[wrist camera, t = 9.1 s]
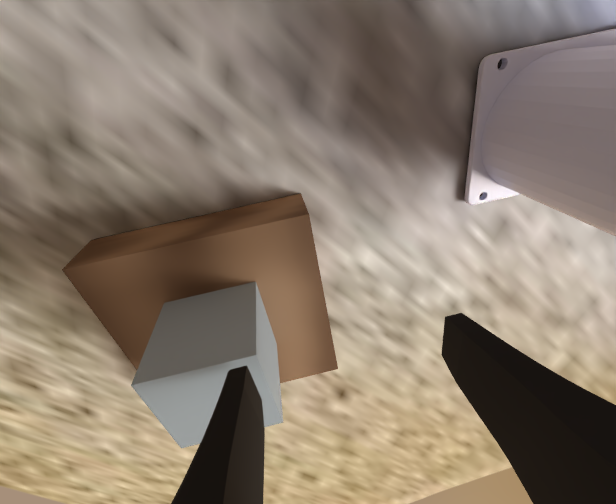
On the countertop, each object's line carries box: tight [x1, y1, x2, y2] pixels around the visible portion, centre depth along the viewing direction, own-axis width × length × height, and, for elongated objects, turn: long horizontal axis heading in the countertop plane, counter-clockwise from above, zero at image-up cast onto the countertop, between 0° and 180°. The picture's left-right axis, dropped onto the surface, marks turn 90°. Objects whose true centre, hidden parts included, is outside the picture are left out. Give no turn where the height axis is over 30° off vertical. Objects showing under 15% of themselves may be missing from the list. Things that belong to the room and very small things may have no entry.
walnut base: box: [62, 194, 338, 383], centre depth 19 cm, size 12×12×3 cm
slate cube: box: [131, 282, 283, 448], centre depth 15 cm, size 5×5×5 cm
